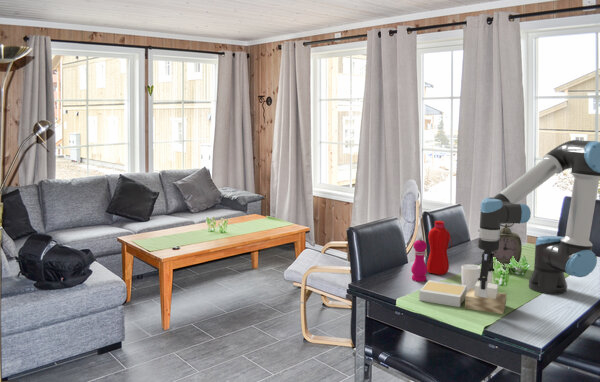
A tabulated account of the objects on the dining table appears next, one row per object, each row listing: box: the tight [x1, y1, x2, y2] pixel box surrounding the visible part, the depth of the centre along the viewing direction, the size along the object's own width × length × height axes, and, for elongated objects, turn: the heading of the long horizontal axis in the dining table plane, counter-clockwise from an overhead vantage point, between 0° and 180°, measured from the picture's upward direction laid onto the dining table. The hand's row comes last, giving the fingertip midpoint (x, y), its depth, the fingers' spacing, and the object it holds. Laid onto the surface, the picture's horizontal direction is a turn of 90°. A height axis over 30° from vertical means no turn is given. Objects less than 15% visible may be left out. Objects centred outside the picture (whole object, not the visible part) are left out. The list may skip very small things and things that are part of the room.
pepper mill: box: [410, 236, 428, 283], centre depth 240 cm, size 7×7×20 cm
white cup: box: [460, 263, 481, 292], centre depth 227 cm, size 8×8×10 cm
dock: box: [418, 279, 468, 308], centre depth 217 cm, size 16×16×4 cm
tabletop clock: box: [493, 223, 522, 266], centre depth 257 cm, size 14×9×25 cm, turn 73°
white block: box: [474, 281, 499, 299], centre depth 206 cm, size 8×6×4 cm
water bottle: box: [426, 220, 453, 276], centre depth 250 cm, size 9×11×25 cm
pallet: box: [464, 289, 507, 315], centre depth 207 cm, size 14×10×5 cm
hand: (485, 291), depth 206 cm, fingers open, 13 cm apart
